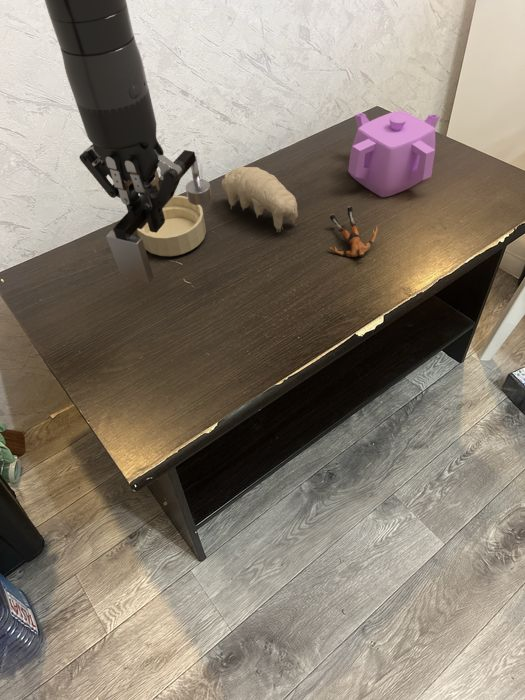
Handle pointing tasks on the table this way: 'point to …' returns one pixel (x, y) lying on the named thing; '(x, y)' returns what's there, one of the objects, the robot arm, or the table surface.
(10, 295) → the table surface
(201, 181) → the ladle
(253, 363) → the table surface
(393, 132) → the teakettle
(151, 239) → the bowl
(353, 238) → the figurine
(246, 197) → the model
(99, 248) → the table surface
